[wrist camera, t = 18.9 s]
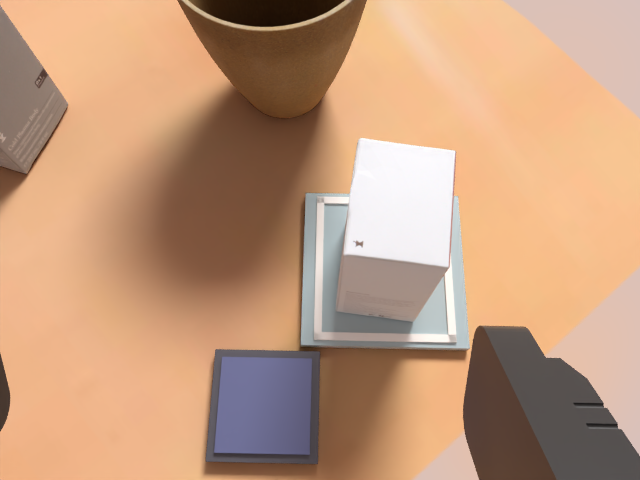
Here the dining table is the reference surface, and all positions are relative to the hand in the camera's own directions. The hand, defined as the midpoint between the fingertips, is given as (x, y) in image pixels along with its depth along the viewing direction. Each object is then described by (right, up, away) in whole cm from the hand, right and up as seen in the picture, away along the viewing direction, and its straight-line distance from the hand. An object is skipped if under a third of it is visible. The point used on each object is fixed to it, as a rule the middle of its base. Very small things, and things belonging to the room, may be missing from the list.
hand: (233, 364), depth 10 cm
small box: (+6, 0, +37) cm, 37 cm away
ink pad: (-3, -10, +33) cm, 35 cm away
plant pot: (-2, +17, +44) cm, 47 cm away
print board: (+7, 0, +37) cm, 38 cm away
